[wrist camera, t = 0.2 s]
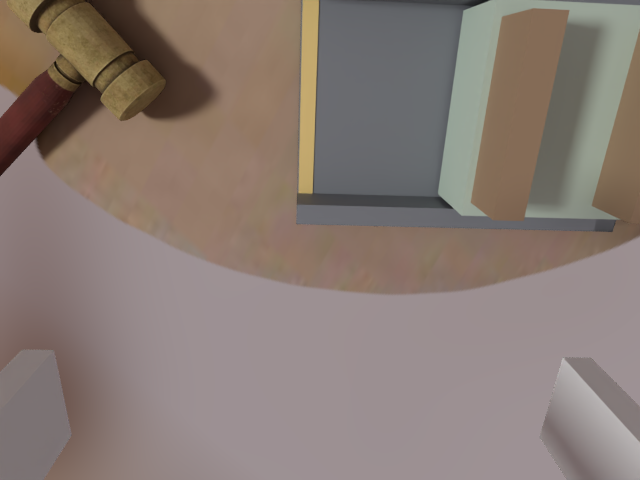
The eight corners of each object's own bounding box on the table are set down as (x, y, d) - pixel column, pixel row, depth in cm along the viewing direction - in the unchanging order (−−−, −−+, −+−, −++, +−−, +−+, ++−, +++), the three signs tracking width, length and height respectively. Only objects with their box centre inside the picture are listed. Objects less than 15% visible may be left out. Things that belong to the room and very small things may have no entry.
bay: (302, -27, 32) (301, -39, 28) (643, -9, 33) (686, -19, 30) (297, 209, 39) (296, 224, 35) (583, 216, 40) (612, 231, 36)
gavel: (-17, 256, 36) (-133, 163, 33) (19, 234, 40) (-81, 150, 37) (154, 84, 30) (33, -47, 27) (175, 79, 34) (72, -35, 32)
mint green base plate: (463, 10, 32) (528, -14, 23) (619, 18, 33) (744, -3, 24) (437, 193, 37) (482, 234, 28) (573, 197, 38) (661, 239, 29)
